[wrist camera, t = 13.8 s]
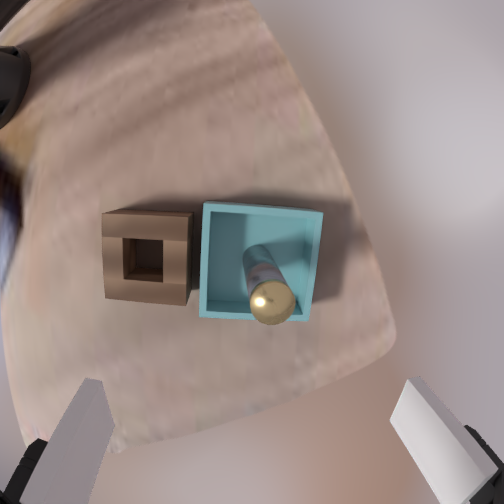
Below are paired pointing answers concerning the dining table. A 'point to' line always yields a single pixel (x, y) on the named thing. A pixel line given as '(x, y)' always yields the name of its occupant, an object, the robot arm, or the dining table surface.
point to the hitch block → (124, 256)
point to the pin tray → (256, 233)
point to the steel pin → (266, 287)
